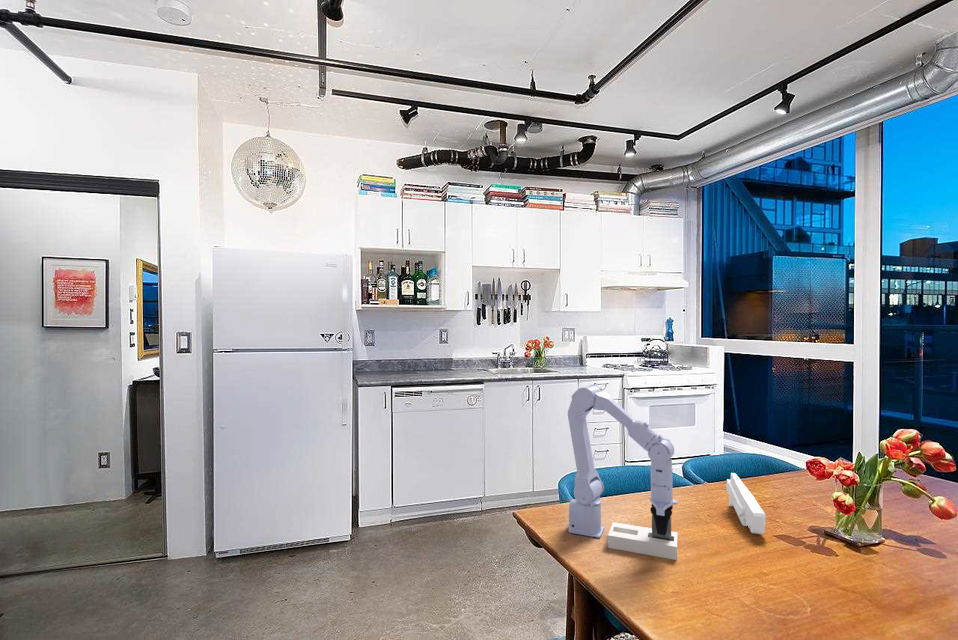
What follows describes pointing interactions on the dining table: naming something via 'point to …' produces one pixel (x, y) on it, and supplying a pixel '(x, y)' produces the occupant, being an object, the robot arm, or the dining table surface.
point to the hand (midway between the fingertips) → (661, 532)
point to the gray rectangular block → (658, 536)
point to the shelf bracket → (745, 505)
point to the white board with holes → (641, 541)
